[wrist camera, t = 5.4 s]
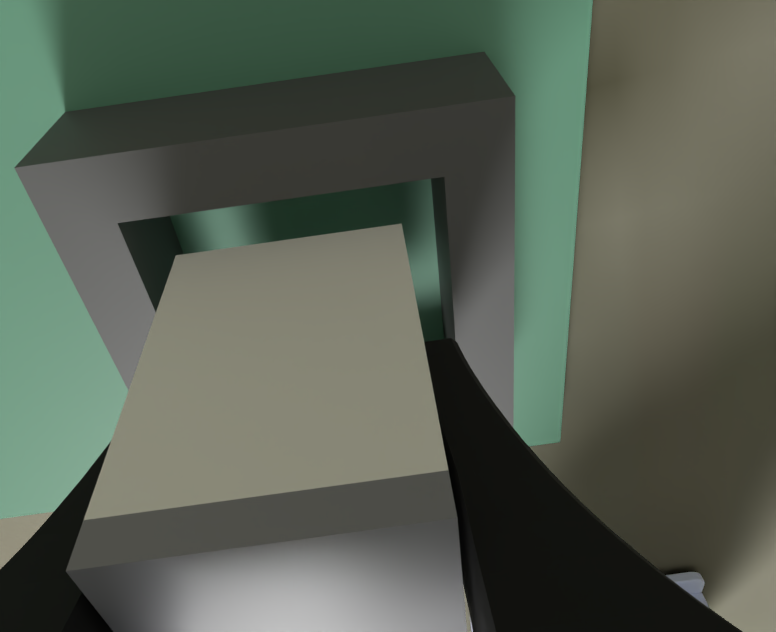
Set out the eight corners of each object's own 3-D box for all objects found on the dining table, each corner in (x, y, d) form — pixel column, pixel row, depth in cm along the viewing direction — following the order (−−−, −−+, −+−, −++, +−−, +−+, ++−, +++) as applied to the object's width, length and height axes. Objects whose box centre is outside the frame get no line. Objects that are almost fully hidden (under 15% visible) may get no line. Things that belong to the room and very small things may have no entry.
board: (582, -128, 11) (665, -112, 8) (550, 417, 20) (587, 513, 17) (-634, 50, 11) (-938, 121, 9) (-146, 513, 20) (-222, 623, 17)
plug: (401, 223, 11) (457, 517, 6) (424, 418, 14) (474, 715, 9) (175, 255, 11) (66, 570, 6) (247, 443, 14) (208, 751, 10)
